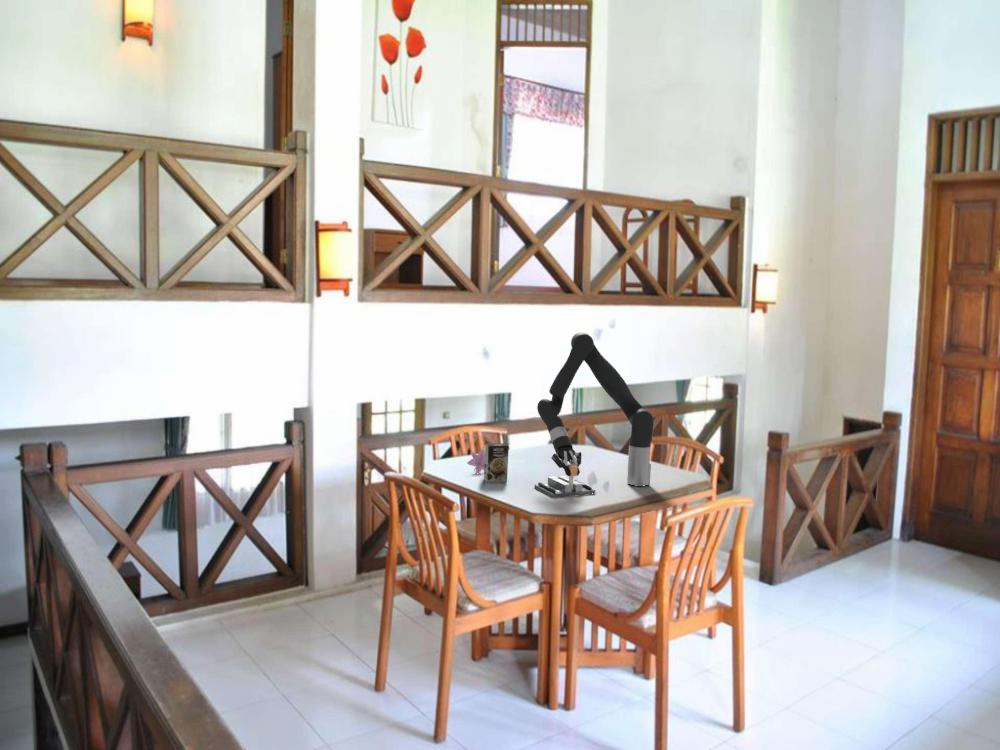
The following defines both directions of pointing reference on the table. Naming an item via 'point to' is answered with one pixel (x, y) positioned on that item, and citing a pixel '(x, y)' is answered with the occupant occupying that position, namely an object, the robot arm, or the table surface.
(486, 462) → the coffee box
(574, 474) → the lever
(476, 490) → the table surface
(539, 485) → the breaker panel
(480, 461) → the lily
